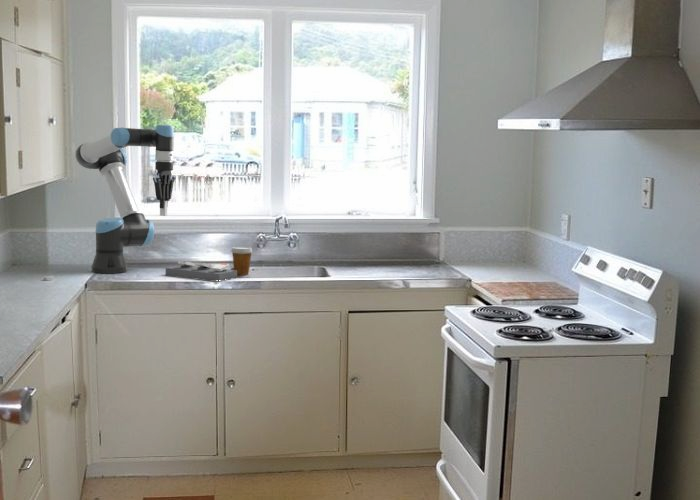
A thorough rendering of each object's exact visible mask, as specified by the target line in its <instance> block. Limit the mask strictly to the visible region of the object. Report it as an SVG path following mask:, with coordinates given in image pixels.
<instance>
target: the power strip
mask: <svg viewBox="0 0 700 500" xmlns="http://www.w3.org/2000/svg"><path fill="white" fill-rule="evenodd" d="M164 272H165V273H164V274H165V276H170V277H176V276H179V277H178V278H185V277H189V278H188V279H193V278H198V279H197V280H202V279H205V280H204V281H210V280H218V281H217V282H220V281H219V280H224V281H226V280H225V279H228V280H232V279H231V278H233V279H236V278H238V275H237V270H234V269H230V268H229V269H228V268H226V269H224V270H222V271H212V268H207V267H200V266H197V265H195V266H191V265H184V264H179V265H175V266H169V267H165V271H164Z"/></svg>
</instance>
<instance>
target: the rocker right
mask: <svg viewBox="0 0 700 500" xmlns="http://www.w3.org/2000/svg"><path fill="white" fill-rule="evenodd" d="M229 267H230V263H227V262H220V263H218V264H216V265H214V266H212V271H222V270H224V269H228V268H229Z"/></svg>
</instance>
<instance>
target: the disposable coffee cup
mask: <svg viewBox="0 0 700 500" xmlns="http://www.w3.org/2000/svg"><path fill="white" fill-rule="evenodd" d="M230 251H231V253H232V254H231V255H232V262H233V263H232V264H233V270H237V276H246V275H247V276H248V275H249V271H250V265H251V260H252V259H251V258H252V254H253V249H252V247H250V246H232V248H231V250H230Z"/></svg>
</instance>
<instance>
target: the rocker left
mask: <svg viewBox="0 0 700 500" xmlns="http://www.w3.org/2000/svg"><path fill="white" fill-rule="evenodd" d="M177 264H179V265H191V266H196V265H195V262H191V261H182V260H178V261H177Z"/></svg>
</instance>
